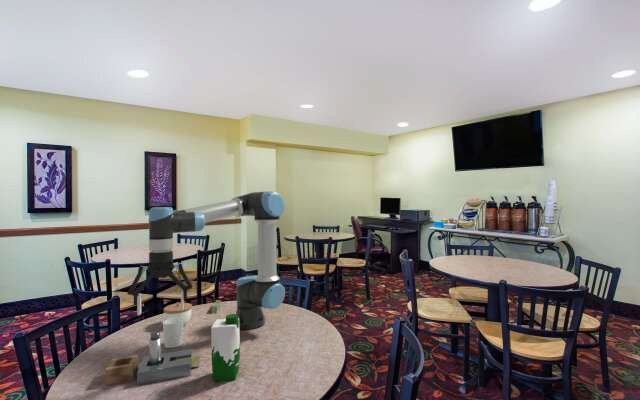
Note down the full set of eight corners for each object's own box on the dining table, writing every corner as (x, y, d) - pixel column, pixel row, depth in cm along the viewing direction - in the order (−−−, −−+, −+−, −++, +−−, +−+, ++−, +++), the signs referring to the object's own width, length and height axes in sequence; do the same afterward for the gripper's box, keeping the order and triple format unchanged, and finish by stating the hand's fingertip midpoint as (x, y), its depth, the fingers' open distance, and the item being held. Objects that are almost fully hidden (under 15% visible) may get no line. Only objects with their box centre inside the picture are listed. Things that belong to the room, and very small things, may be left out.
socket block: (192, 359, 120) (191, 348, 120) (190, 375, 108) (190, 363, 108) (144, 367, 114) (144, 356, 114) (137, 385, 103) (137, 372, 103)
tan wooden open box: (138, 368, 114) (137, 354, 114) (133, 380, 106) (132, 365, 106) (112, 373, 111) (112, 358, 111) (105, 385, 103) (105, 369, 104)
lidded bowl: (197, 323, 157) (197, 301, 157) (174, 332, 146) (173, 308, 146) (182, 319, 163) (181, 297, 164) (158, 327, 153) (158, 304, 153)
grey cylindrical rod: (162, 369, 112) (161, 330, 113) (160, 374, 109) (160, 334, 109) (150, 371, 111) (150, 331, 111) (149, 377, 108) (148, 335, 108)
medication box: (216, 314, 170) (217, 307, 170) (211, 314, 170) (211, 306, 170) (220, 306, 182) (220, 299, 182) (215, 306, 181) (216, 299, 181)
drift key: (199, 363, 116) (199, 353, 116) (199, 366, 114) (199, 356, 114) (175, 367, 113) (175, 357, 113) (175, 370, 111) (174, 360, 111)
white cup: (175, 349, 128) (175, 324, 129) (158, 348, 130) (158, 323, 130) (187, 341, 136) (187, 317, 136) (171, 340, 138) (170, 317, 138)
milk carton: (237, 381, 104) (236, 320, 104) (209, 383, 103) (208, 321, 103) (241, 367, 113) (240, 311, 113) (215, 369, 112) (214, 312, 112)
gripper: (199, 247, 119) (199, 304, 119) (122, 251, 111) (122, 313, 110) (198, 250, 112) (199, 310, 112) (117, 254, 104) (117, 320, 103)
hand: (161, 311), depth 111 cm, fingers open, 13 cm apart
